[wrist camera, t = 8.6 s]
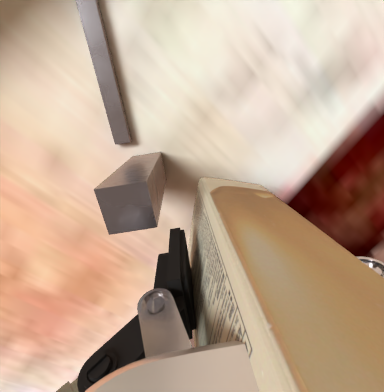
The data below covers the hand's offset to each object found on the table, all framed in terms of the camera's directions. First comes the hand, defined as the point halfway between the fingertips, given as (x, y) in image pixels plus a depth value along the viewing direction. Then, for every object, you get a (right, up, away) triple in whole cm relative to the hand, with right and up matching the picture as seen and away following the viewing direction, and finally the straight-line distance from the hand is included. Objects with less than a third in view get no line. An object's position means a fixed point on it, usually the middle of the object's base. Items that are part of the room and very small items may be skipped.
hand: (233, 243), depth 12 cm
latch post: (-7, +10, +1) cm, 12 cm away
